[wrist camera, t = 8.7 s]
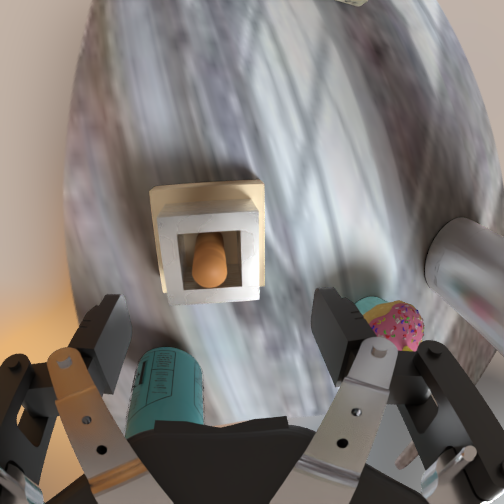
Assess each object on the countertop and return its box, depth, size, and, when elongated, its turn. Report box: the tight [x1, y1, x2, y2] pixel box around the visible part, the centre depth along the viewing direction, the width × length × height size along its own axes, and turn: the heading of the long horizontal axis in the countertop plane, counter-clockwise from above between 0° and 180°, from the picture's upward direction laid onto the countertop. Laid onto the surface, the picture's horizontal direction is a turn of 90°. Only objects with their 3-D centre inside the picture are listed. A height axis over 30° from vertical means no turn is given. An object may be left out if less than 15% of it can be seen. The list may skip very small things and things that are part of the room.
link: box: [157, 199, 259, 306], centre depth 20 cm, size 6×6×4 cm
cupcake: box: [355, 297, 424, 351], centre depth 23 cm, size 9×8×12 cm
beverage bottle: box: [123, 347, 205, 439], centre depth 19 cm, size 6×7×20 cm
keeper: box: [149, 179, 265, 293], centre depth 20 cm, size 8×8×7 cm
